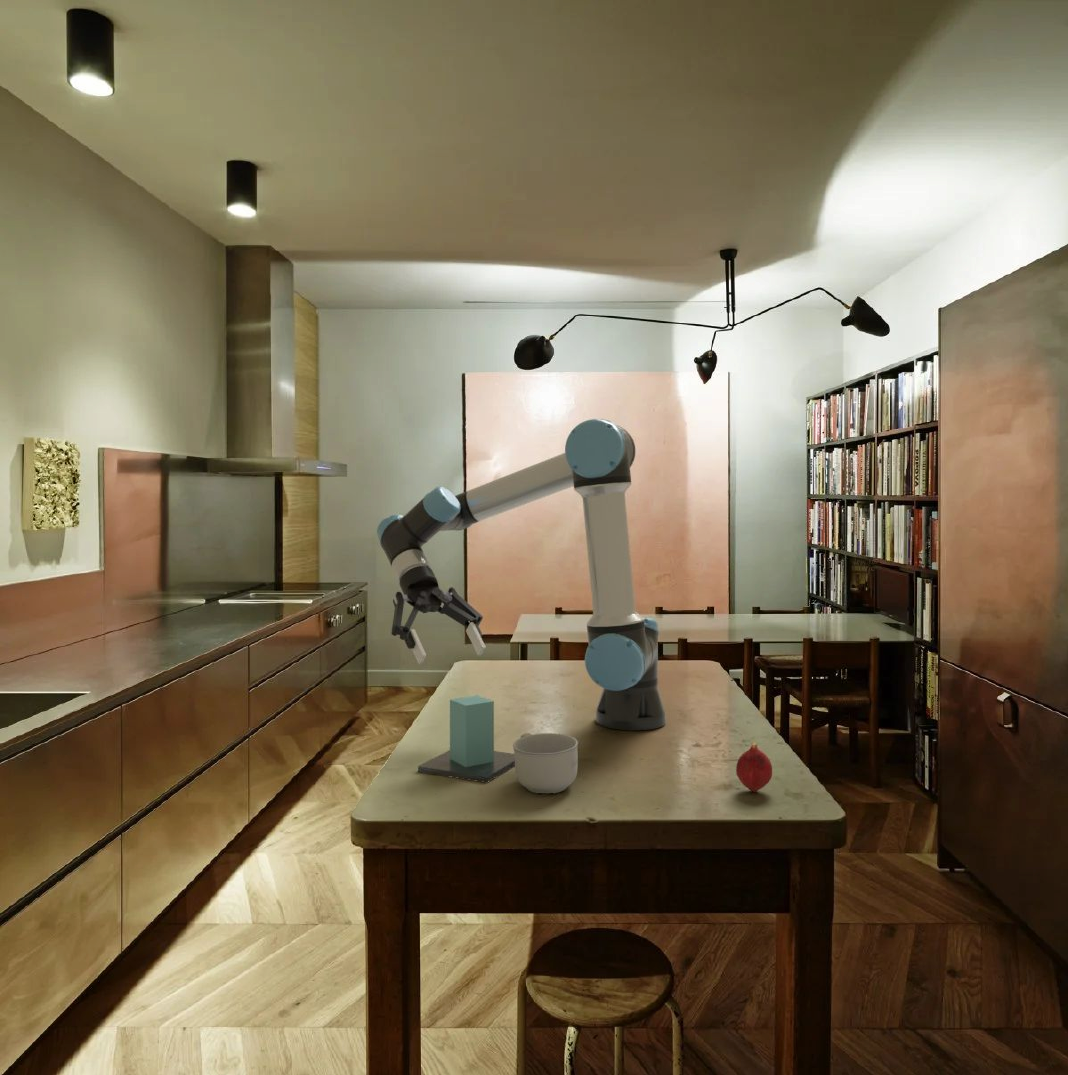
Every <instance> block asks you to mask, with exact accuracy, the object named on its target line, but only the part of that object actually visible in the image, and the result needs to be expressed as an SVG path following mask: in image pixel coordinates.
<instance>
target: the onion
mask: <svg viewBox="0 0 1068 1075" xmlns="http://www.w3.org/2000/svg"><path fill="white" fill-rule="evenodd" d="M735 770H736V771H735V772H736V776H737V778H738V780H739V781H740V782H741V783H742V785H743V786H744V787H745V788H747V789H748V790H749V791H751V792H752V791H753V792H752V793H756V792H758V791H759V790H761V789H762V788H764V787H765V786H767V785H768V784H769V783H770V781H771V779H772V776H773V765H772V762H771V760H770V759H769V757H768V756H767V755H766V754H765V753H764V751H762V750H760V749H759V747H758V744H757V743H755V742H754V743H751V744H750V748H749V749H748V750H746V751H744V752H743V753H742V754H741V755H740V756H739V758H738V759H737V762H736V767H735Z"/></svg>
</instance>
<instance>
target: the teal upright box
mask: <svg viewBox="0 0 1068 1075" xmlns="http://www.w3.org/2000/svg"><path fill="white" fill-rule="evenodd" d="M494 704H495V703H494V700H491V699H490V698H489V699H488V698H486V697H483V696H480V695H470V696H464V697H457V698H452V699H451V698H450V699H449V750H450V759H451V760H453V761H455V762H457V763H459V764H461V765H463V766H465V767H470V766H475V765H480V764H485V763H489V762H494V751H495V745H494V744H495V728H494V726H495V723H494V722H495V717H494V716H495V713H494V712H495V705H494Z"/></svg>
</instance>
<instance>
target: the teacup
mask: <svg viewBox="0 0 1068 1075" xmlns="http://www.w3.org/2000/svg"><path fill="white" fill-rule="evenodd" d="M578 745H579V741H578V739H576V738H575V737H573V736H571V735H567V734H562V733H554V732H553V733H551V732H550V733H549V732H547V733H545V732H544V733H535V734H531V733H529V732H525V733H522V734H521V735H520V738H518V739H517V740H515V741H514V742H513V744H512V746H513V754H514V759H515V766H514V770H515V775H516V779H517V780H518V782H519V783H520V784H521V786H523V787H524V788H526V790H528V791H529V792H531V791H532V792H531V793H534V792H535V793H534V794H537V793H553V794H558V793H562V792H563V791H566V789H568V787H569V786H570V785H572V783H574V782H575V780H576V777H577V774H578V761H579V760H578V757H579V756H578Z"/></svg>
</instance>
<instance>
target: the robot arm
mask: <svg viewBox="0 0 1068 1075" xmlns="http://www.w3.org/2000/svg"><path fill="white" fill-rule="evenodd" d="M564 446H565V447H564V453H561V454H558V455H556V456H554V457H551V458H548V459H546V460H543V461H540V462H538V463H536V464H533V465H530V466H528V467H525V468H523V469H519V470H517V471H515V472H512V473H510V474H507V475H504V476H502V477H499V478H496V479H494V480H492V481H489V482H487V483H484V484H482V485H480V486H477V487H474V488H471V489H469V490H466V491H464V492H461V493H459V494H457V495H454V493H452V492H451V491H450V490H449V489H447V488H446V487H445V486H444V487H443V486H437V487H435V488H434V489H433V490H430V492H428V493H426V494H425V495H424V497H423V498H422V499H421V500H420V501H419V502H418V503H417V504H415V505H414V507H412V508H411V509H410V510H409V511H408V512H407V513H406V514H405V515H402V514H391V515H390V516H389V517H385V518H384V519H382V520H381V521H380V522H379V524H378V525H377V528H376V534H377V538H378V539H379V543H380V546H381V549H382V550H383V551H384V553H385V555H386V558H387V560H388V562H389V564H390V567H391V569H392V571H393V573H394V576H395V578H396V579H397V582H398V584H399V587H400V588H401V591H402V592H401V591H396V593H395V595H394V597H393V600H392V603H393V606H394V611H393V618H392V619H393V620H392V626H391V632H390V633H391V636H393V637H397V636H398V635H399V639H400V640H403V641H404V642H405V644H406V647H407V648H408V650H412V652H413V655H414V657H415V659H416V661H417V664H418V665H421V664H423V662H424V661H425V659H426V657H427V653H426V651H425V649H424V647H423V644H422V642H421V640H420V637H419V635H418V634H417V630H416V629H415V628H412V626H413V624H414V622H415V619H416V617H417V616H418V613H419V612H421V613H422V614H426V613H436V612H437V613H439V614H441V615H443V614H444V615H446V616H447V617H449V618H451V619H452V620H454V621H455V622H457V623H458V624H460V625H462V626H464V627H465V628H466V629H465V632H466V634H467V636H468V638H469V640H470V642H471V644H472V646H473V648H474V650H475V653H476V655H477V656H482V655H483V653H484V651H485V649H486V648H487V646H486V644H485V642H484V641H483V638H482V637H483V633H482V631H481V628H480V627H479V626H480V624H481V622H482V620H483V619H484V618H483V615H482V614H481V613H480V612H479V611H478V610H476V609H475V608H474V607H473V606H472V605H470V604H469V603H468V602H467V601H466V600H465V599H464V598H462V597H461V596H460V595H459V593H458V592H457V590H456V589H455V588H454V587H452V586H451V587H449V589H448V590H444V591H443V589H441V588H440V587H439V581H438V579H437V576H436V575H435V573H434V571H433V569H432V568H431V564H430V563H429V561H428V558H427V557H426V554H425V553H424V551H423V549H422V547H423V546H424V545H425V544H426V543H427V542H428V541H430V540H431V539H432V538H433V537H434V536H435V535H437V534H438V533H439V532H445V531H446V532H447V531H463V530H466V529H468V528H470V527H471V526H473V525H474V524H477V523H479V522H481V521H483V520H484V521H485V520H486V519H489V518H491V517H492V518H493V517H496V516H497V515H500V514H503V513H505V512H508V511H511V510H514V509H516V508H519V507H522V506H525V505H527V504H530V503H532V502H535V501H537V500H540V499H543V498H545V497H549V496H551V495H554V494H557V493H559V492H561V491H564V490H567V489H569V488H572V487H573V490H574V491H575V492H576V493H578V494H579V495H580V497H581V498H582V508H583V517H584V518H583V519H584V529H585V538H586V550H587V560H588V570H589V582H590V594H591V603H592V604H591V605H592V616H591V618H590V619H589V620H587V622H586V630H587V643H588V646H587V648H586V652H585V655H584V665H585V670H586V672H587V675H588V676H589V677H590V679H591V680H592V681H593V682H594V683H595V684H596V685H598V686H599V687H601V688H602V692H601V695H600V698H599V701H598V704H597V707H596V710H595V722H596V723H597V724H598V725H600V726H602V727H605V728H609V729H613V730H621V731H622V730H623V731H648V730H654V729H658V728H661V727H663V726H665V724H666V711H665V708H664V704H663V701H662V697H661V694H660V691H659V688H658V687H659V686H658V684H659V683H658V672H659V669H658V666H659V665H658V662H659V661H658V660H659V657H658V656H659V652H658V651H659V650H658V649H659V646H658V645H659V644H658V642H659V627H658V622H657V620H656V619H654V618H647V617H645V618H644V617H643V616H642V615H641V614H639V613H638V611H637V610H636V601H635V591H634V590H635V589H634V588H635V587H634V579H633V569H632V568H633V567H632V559H631V548H630V547H631V544H630V536H629V527H628V524H629V523H628V516H627V506H626V505H627V503H626V492H627V490H628V489H629V488H630V486H632V475H631V467H632V465H633V464H634V461H635V458H636V445H635V441H634V439H633V437H632V435H631V434H630V433H629V432H628V430H626V429H625V428H624V427H621V426H619V425H617V424H616V423H614V422H613V421H610V420H609V419H604V418H592V419H588V420H584V421H581V422H580V423H578V424H577V425H576V426H575V427H573V429H572V430H571V431H570V433H569V435H568V436H567V439H566V441H565V444H564ZM405 603H407V604H408V605H410V606H411V607H412V610H411V612H410V614H409V616H408V618H407V620H406V623H405V624H404V625H402V620H403V614H404V605H405ZM442 604H443V606H442ZM411 628H412V629H411Z"/></svg>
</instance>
